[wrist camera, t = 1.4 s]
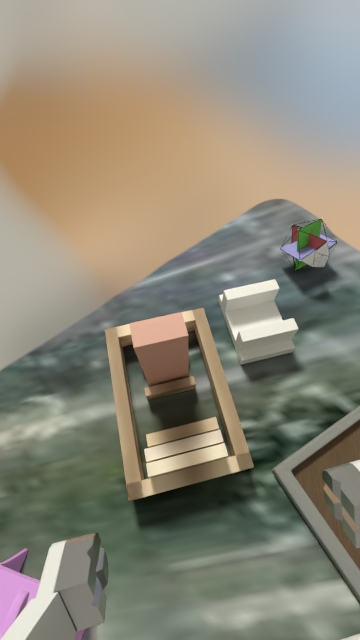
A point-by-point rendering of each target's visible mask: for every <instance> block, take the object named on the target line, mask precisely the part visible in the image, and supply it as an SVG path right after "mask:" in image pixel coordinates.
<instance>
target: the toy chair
mask: <svg viewBox="0 0 360 640" xmlns="http://www.w3.org/2000/svg"><path fill="white" fill-rule="evenodd" d="M27 553H28V549H26V548H25V549H24V550H22V551H21V552H19V553H18V554H16V555H15V556H13V557H12V558H10V559H8V560H6V561H4V562H2V563H0V640H1V638H2V637H3V636H4V634H5V633H6V632H7V630H8V629H9V628H10V626H11V625H12V624H13V622H14V621H15V620H16V618H17V617H18V616H19V614H20V613H21V612H22V611H23V609H24V608H25V607H26V605H27V604H28V603H29V601H30V600H31V599H34V598H36V594H37V591H38V587H39V584H40V580H37V579H34V578H31V577H29V576H26V575H23V574H21V573H19V572H20V570H21V567H22V565H23V562H24V560H25V557H26V555H27ZM84 630H85V629H84ZM84 630H81V631H77V635H76V637H75V639H74V640H82V637H83V633H84Z"/></svg>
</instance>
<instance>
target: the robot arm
mask: <svg viewBox="0 0 360 640" xmlns="http://www.w3.org/2000/svg"><path fill="white" fill-rule="evenodd" d="M322 479H323V480H324V482H325V483H326V484H325V486H324V488H323V492H324V498H325V501H326V503H327V506H328V508H329V509H330V511H331V513H332V514H333V516H334V517H335V518H336V519H338V520H340V521H342V522H343V530H344V532H345V533H346V535H347V536H348V538H349V539H350V540H351V542H352V543H353V545H354V546H355V548H360V460H357V461H353V462H350V463H346V464H342V465H339V466H335V467H332V468H328V469H325V470H323V472H322ZM100 543H101V539H100V537H99V534H98V533H93V534H89V535H85V536H81V537H77V538H73V539H69V540H65V541H61V542H57V543H53V544H52V545H51V547H50V549H49V552H48V555H47V559H46V562H45V566H44V569H43V573H42V577H41V580H40V584H39V587H38V591H37V594H36V598H34V599H31V600H30V601H29V603H28V604H27V605H26V607H25V608H24V609H23V611H22V612H21V613H20V614H19V616H18V617H17V618H16V620H15V621H14V622H13V624H12V625H11V626H10V628H9V629H8V630H7V632H6V633H5V634H4V636H3V637H2V638H1V640H74V639H75V637H76V635H77V631H81V630H84V629H87V628H90V627H93V626H96V625H99V624H102V623H104V619H105V608H106V596H105V593H104V591H103V590H104V588H105V586H106V585H107V583H108V561H107V556H106V552H105V550H104V549H103V548H101V547H100ZM341 640H360V634H357V635H354V636H350V637H347V638H344V639H341Z"/></svg>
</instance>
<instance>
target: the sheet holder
mask: <svg viewBox="0 0 360 640" xmlns="http://www.w3.org/2000/svg"><path fill="white" fill-rule="evenodd" d="M278 291H279V287H278V284H277V282H276V280H275V279H274V280H270V281H265V282H260V283H256V284H251V285H247V286H242V287H237V288H233V289H228V290H224V293H223V294H222V295H219V299H218V301H219V304H220V307H221V310H222V313H223V316H224V318H225V321H226V324H227V327H228V330H229V333H230V336H231V338H232V341H233V344H234V347H235V350H236V353H237V355H238V358H239V361H240V364H241V365H242V364H246V363H250V362H254V361H258V360H262V359H267V358H271V357H275V356H279V355H283V354H287V353H292V351H293V350H294V349H295V346H294V344H293V342H292V340H291V339H292V337H293V336H294V335H295V333H296V332H297V330H298V327H297V325H296V323H295V320H294V318H292V319H288V320H284V321H283V320H282V318H281V315H280V313H279V311H278V309H277V307H276V304H275V302H274V299H275V297H276V295H277V293H278Z"/></svg>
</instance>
